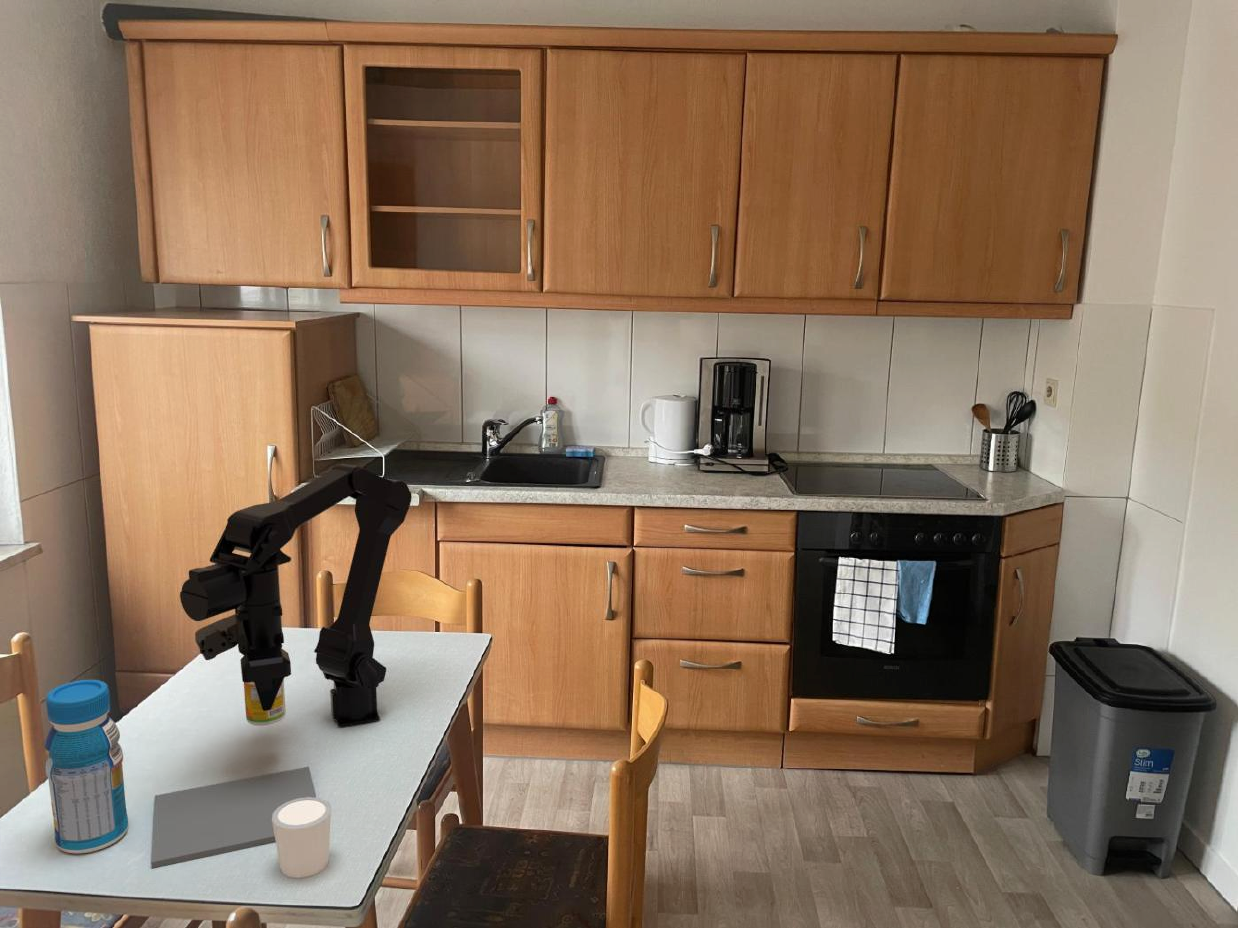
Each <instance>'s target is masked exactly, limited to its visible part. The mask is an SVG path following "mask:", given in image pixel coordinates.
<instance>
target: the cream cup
mask: <svg viewBox="0 0 1238 928" xmlns="http://www.w3.org/2000/svg"><path fill="white" fill-rule="evenodd" d="M331 817H332V805H331V804H330V803H329V802H328V801H327V800H325V799H323V798H320V797H317V798H312V797H306V798H298V799H295V800H292V801H289V802H286V803H284V804H283V805H281V806H279V807H278V808H277V809H276V810H275V811H274V813H273V815H272V823H273V829H274V834H275V840H276V842H275V844H276V851H277V852H276V853H277V856H278V863H279V868H280V871H281V872H282V874H283V875H285V876H286V877H289V878H294V879H295V878H297V879H301V878H308V877H311V876H314V875H316V874H319V873H320V872H322V871H323V870H324V869H325V868H326V867H327V866H328V864H329V857H330V856H329V855H330V854H329V853H330V842H331V841H330V840H331V839H330V836H331V835H330V834H331V822H332V821H331V819H332V818H331Z"/></svg>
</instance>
